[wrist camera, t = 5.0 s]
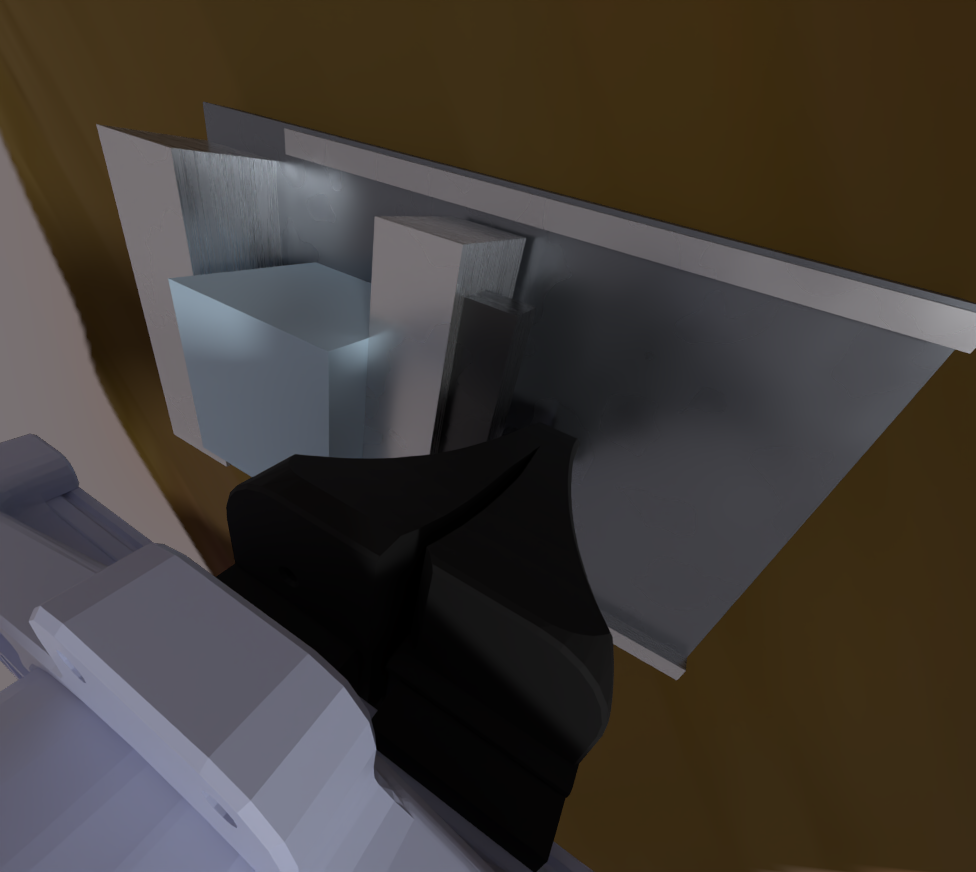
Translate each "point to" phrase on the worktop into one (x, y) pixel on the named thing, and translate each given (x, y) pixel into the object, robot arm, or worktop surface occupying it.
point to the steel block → (276, 361)
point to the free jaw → (441, 335)
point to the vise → (579, 346)
